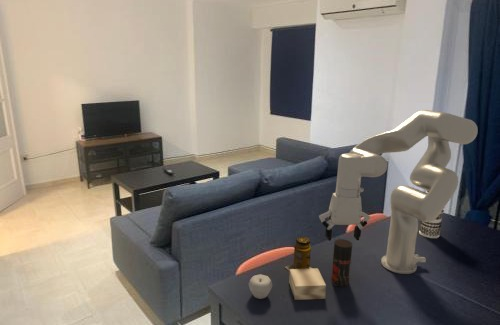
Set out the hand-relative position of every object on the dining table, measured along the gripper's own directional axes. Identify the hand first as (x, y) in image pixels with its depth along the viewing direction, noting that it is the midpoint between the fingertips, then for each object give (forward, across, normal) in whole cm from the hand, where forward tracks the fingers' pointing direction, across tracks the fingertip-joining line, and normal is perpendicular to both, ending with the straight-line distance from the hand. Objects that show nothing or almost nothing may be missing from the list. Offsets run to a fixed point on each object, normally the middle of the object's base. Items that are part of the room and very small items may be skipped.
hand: (342, 238), depth 121 cm
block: (+17, +12, +4) cm, 21 cm away
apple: (+18, +28, +6) cm, 34 cm away
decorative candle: (+16, -54, -34) cm, 66 cm away
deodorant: (+17, -1, 0) cm, 17 cm away
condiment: (+17, +12, -9) cm, 23 cm away
